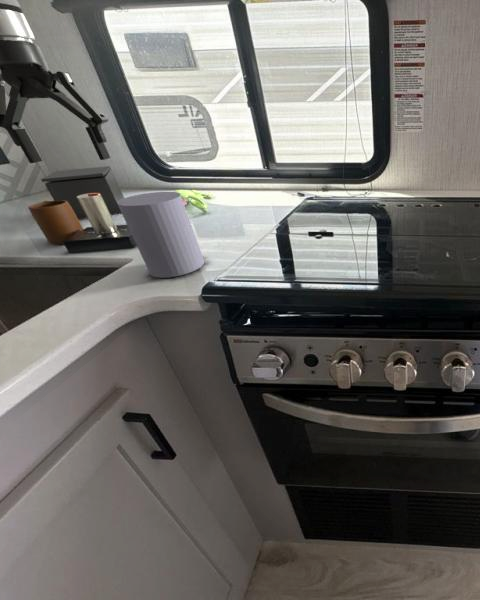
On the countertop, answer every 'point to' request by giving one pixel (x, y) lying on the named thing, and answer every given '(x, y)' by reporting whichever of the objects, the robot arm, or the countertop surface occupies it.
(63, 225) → the mug
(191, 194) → the figurine
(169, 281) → the countertop surface
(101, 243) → the panel
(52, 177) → the lid
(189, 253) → the container
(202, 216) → the countertop surface
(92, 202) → the cream silver cylinder
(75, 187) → the dark grey box
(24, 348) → the countertop surface
